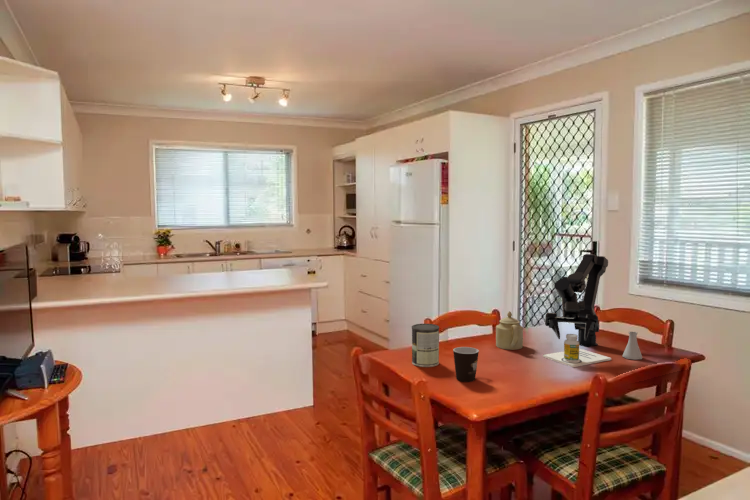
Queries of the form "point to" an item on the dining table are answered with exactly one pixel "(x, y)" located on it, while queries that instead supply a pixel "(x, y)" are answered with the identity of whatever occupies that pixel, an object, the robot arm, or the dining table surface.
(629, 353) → the flask
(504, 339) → the sugar bowl
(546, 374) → the dining table surface
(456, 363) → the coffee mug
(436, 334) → the coffee can
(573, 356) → the supplement bottle
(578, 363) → the notepad
